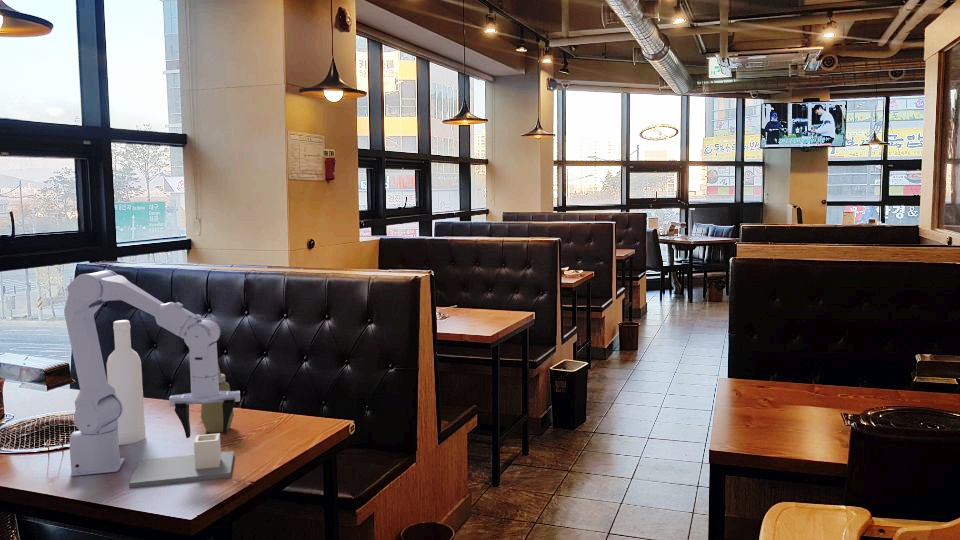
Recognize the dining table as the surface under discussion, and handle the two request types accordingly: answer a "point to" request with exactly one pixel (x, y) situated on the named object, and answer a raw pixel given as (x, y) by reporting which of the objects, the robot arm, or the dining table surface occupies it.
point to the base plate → (178, 470)
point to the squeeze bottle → (215, 410)
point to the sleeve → (207, 451)
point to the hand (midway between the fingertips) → (206, 434)
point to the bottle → (127, 384)
